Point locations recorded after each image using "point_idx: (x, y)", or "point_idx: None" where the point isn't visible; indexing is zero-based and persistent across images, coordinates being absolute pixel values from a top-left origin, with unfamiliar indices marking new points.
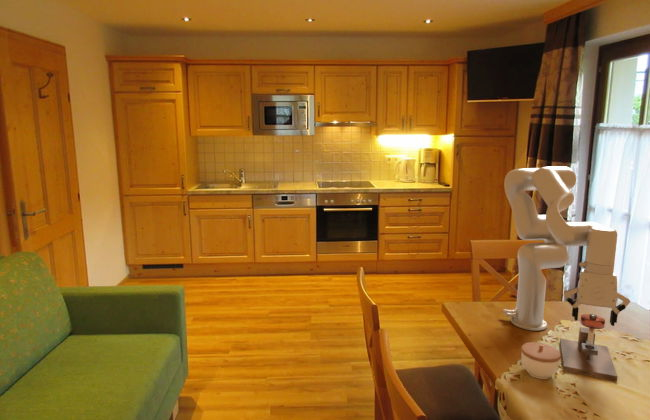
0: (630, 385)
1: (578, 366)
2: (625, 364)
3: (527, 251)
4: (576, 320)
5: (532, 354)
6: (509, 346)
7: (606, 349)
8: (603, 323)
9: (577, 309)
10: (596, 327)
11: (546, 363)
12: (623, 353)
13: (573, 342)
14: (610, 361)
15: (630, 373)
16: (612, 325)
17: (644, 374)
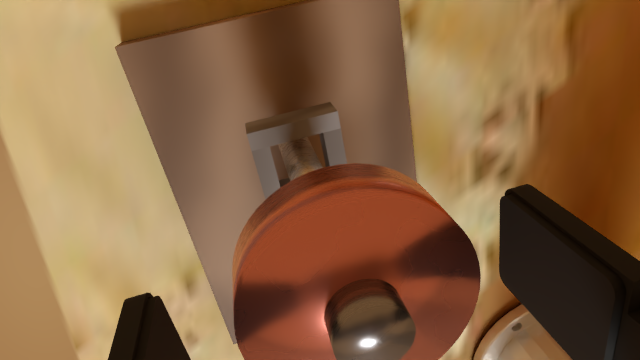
0: (47, 36)
1: (325, 32)
2: (133, 256)
3: None
4: (510, 189)
5: None
6: (629, 90)
7: (230, 314)
8: (241, 272)
9: (627, 271)
10: (299, 184)
11: None
12: None
13: None
14: (189, 206)
15: (88, 179)
16: (144, 295)
17: (29, 213)
